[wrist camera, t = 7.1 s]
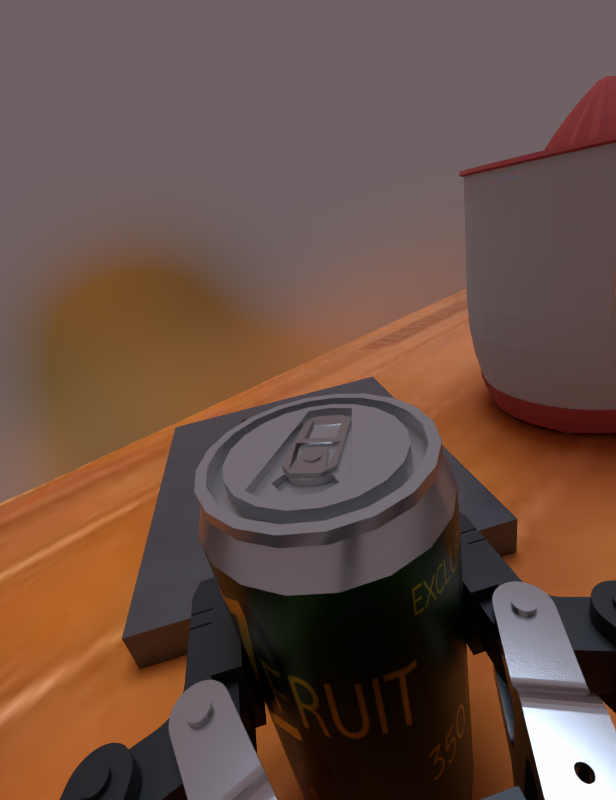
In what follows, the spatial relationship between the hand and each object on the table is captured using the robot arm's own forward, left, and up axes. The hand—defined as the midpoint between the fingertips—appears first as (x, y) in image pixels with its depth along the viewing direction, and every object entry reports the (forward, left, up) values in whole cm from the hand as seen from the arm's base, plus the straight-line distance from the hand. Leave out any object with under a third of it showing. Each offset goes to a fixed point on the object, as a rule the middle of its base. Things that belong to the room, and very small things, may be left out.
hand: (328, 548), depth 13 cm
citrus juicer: (-23, -13, -7) cm, 28 cm away
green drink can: (0, +3, -7) cm, 7 cm away
